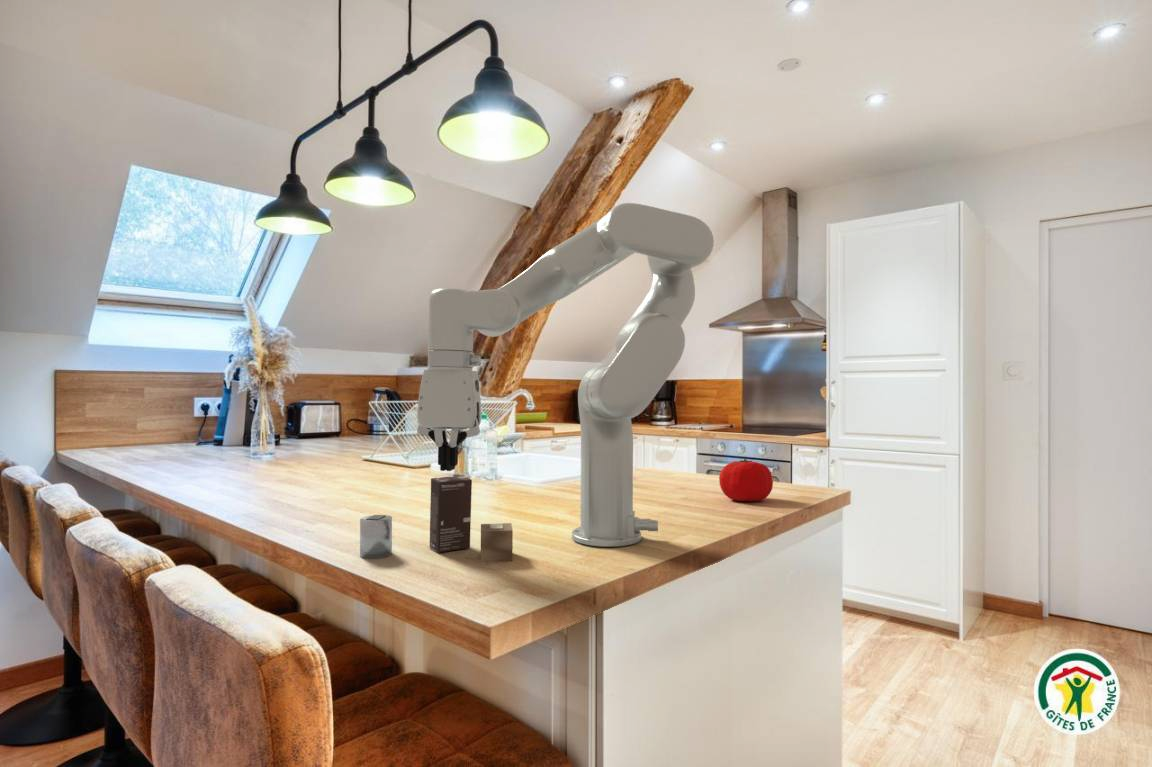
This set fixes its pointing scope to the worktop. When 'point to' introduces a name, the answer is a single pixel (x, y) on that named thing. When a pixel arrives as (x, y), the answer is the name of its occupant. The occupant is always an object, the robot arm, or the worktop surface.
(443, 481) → the box
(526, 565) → the worktop surface
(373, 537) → the grey tin
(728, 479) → the tomato
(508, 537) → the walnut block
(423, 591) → the worktop surface
